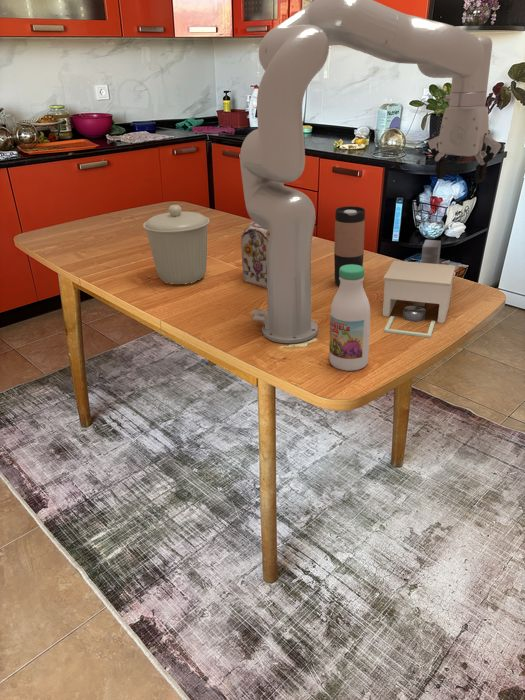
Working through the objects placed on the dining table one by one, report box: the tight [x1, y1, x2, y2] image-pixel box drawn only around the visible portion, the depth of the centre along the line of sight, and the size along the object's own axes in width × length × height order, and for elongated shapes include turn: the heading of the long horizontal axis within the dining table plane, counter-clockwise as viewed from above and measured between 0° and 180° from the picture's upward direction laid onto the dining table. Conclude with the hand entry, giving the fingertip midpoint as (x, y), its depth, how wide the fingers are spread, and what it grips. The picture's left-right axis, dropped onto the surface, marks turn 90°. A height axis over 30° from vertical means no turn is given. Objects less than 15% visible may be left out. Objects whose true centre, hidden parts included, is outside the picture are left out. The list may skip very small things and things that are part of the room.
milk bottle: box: [328, 264, 371, 372], centre depth 108 cm, size 8×8×20 cm
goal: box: [383, 315, 436, 339], centre depth 126 cm, size 10×8×1 cm
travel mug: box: [333, 205, 366, 288], centre depth 147 cm, size 8×8×20 cm
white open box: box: [382, 260, 456, 324], centre depth 132 cm, size 15×13×10 cm
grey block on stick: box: [411, 239, 442, 307], centre depth 143 cm, size 4×22×10 cm, turn 158°
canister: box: [142, 204, 211, 285], centre depth 155 cm, size 18×18×21 cm
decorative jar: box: [240, 221, 270, 289], centre depth 152 cm, size 12×12×18 cm
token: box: [402, 305, 427, 323], centre depth 130 cm, size 5×5×2 cm
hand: (459, 179), depth 132 cm, fingers open, 9 cm apart
